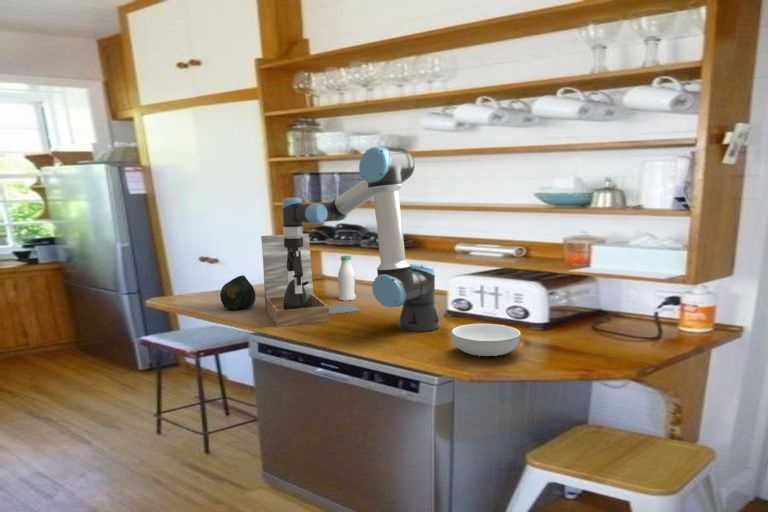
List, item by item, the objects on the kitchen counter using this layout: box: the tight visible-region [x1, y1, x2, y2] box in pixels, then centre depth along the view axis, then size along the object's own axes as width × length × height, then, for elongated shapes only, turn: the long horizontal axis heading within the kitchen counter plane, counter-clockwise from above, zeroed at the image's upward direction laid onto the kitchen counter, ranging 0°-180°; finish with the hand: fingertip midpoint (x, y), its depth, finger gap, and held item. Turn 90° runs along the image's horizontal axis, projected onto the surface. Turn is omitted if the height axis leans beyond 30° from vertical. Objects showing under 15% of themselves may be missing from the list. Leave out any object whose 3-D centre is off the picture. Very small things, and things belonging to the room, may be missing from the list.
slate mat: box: [327, 302, 361, 315], centre depth 236 cm, size 14×14×1 cm
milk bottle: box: [337, 255, 357, 302], centre depth 254 cm, size 8×8×20 cm
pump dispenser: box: [283, 279, 309, 310], centre depth 224 cm, size 10×10×15 cm
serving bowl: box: [451, 323, 521, 357], centre depth 172 cm, size 21×21×7 cm
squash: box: [219, 274, 256, 310], centre depth 242 cm, size 14×15×15 cm
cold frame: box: [260, 233, 330, 328], centre depth 225 cm, size 32×20×32 cm, turn 21°
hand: (295, 290), depth 223 cm, fingers open, 13 cm apart
